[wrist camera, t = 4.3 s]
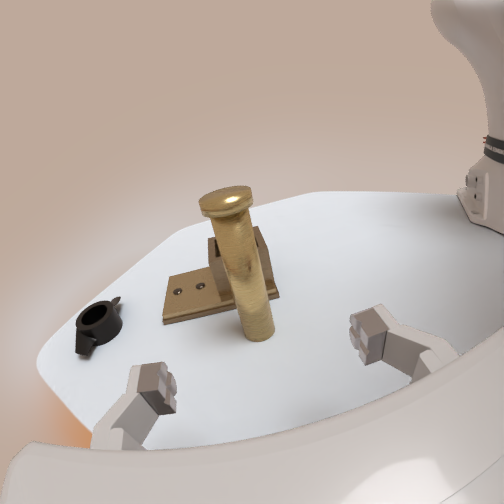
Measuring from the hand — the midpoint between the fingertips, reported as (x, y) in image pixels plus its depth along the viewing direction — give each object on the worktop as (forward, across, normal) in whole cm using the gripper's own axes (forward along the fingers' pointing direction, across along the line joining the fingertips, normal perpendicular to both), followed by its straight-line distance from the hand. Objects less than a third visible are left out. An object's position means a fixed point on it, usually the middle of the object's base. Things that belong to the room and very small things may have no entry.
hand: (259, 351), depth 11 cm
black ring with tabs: (+19, +19, +11) cm, 29 cm away
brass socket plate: (+22, +4, +11) cm, 24 cm away
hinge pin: (+13, 0, +11) cm, 17 cm away
